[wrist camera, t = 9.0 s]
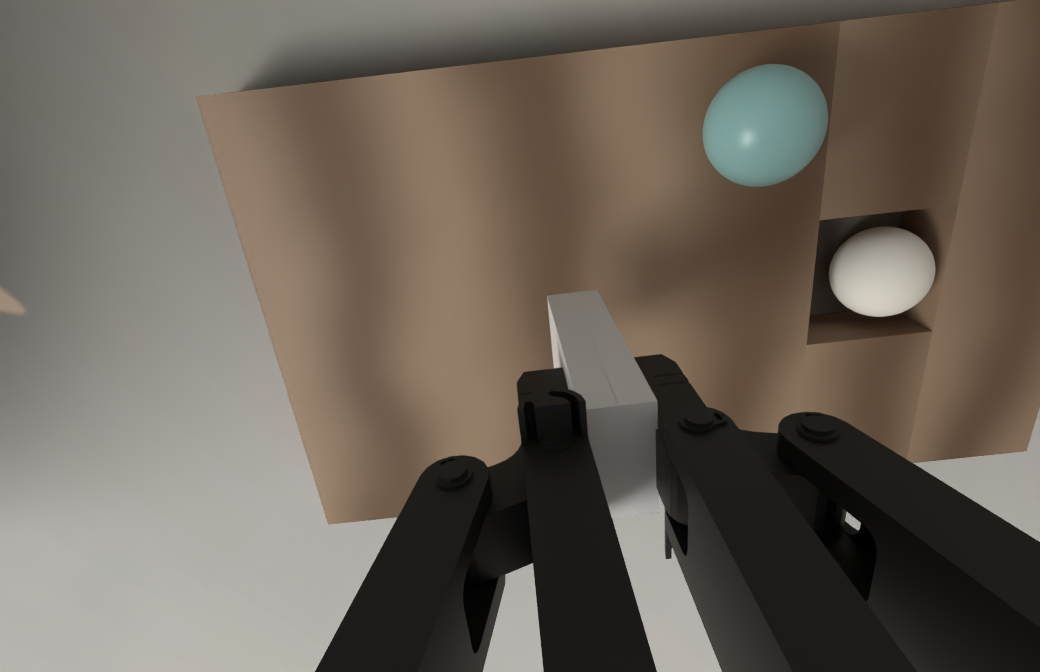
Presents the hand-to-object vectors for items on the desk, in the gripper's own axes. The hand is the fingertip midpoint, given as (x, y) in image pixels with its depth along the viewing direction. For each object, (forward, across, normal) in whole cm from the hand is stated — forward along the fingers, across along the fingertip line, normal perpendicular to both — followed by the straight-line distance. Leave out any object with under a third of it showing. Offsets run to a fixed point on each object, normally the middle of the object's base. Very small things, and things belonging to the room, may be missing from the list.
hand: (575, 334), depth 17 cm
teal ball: (+1, +6, +5) cm, 8 cm away
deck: (+5, +4, 0) cm, 6 cm away
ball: (+3, +11, 0) cm, 12 cm away
